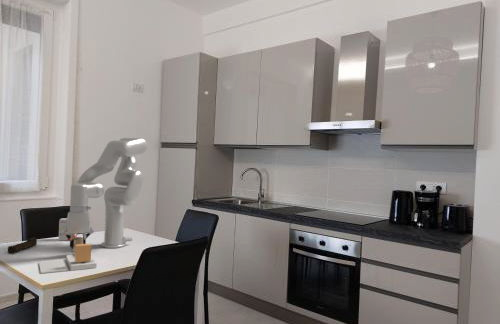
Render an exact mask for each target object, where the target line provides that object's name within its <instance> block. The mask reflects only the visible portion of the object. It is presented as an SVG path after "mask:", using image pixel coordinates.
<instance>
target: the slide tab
mask: <svg viewBox="0 0 500 324" xmlns="http://www.w3.org/2000/svg"><path fill="white" fill-rule="evenodd" d="M74 255H75V263H78V262H89V261H91V256H92V243H86V244H77V245H75V253H74Z"/></svg>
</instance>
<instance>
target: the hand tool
mask: <svg viewBox="0 0 500 324" xmlns="http://www.w3.org/2000/svg"><path fill="white" fill-rule="evenodd" d="M37 242H38V241H37V237H35V236H32V237H30V238H27V239H26V240H25V241H22V242H21V243H16V244H14V245H10V246H8V247H7V253H8V254H12V255H15V254H16V253H18V252H19V251H22V250H26V249H27V248H34V247H36V246H37V244H38V243H37Z"/></svg>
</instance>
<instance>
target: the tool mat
mask: <svg viewBox="0 0 500 324" xmlns="http://www.w3.org/2000/svg"><path fill="white" fill-rule="evenodd" d="M66 263H67V262H66V259H60V260H49V261H39V262H38V266H39V271H40V272H39V273H40V274H41V275H42V274H44V275H45V274H51V273H52V274H53V273H60V272H68V271H69V269H68V266H67V264H66Z"/></svg>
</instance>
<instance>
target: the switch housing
mask: <svg viewBox="0 0 500 324" xmlns="http://www.w3.org/2000/svg"><path fill="white" fill-rule="evenodd" d="M65 257H66V258H65V261H66V263H67V264H68V267H69V270H70V271H71V270H72V271H80V270H90V269H96V268H97V262H96V261H95V259H94V257H93V256H92V255H91V261H89V262H78V263H75V254H67V255H66V256H65Z"/></svg>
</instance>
